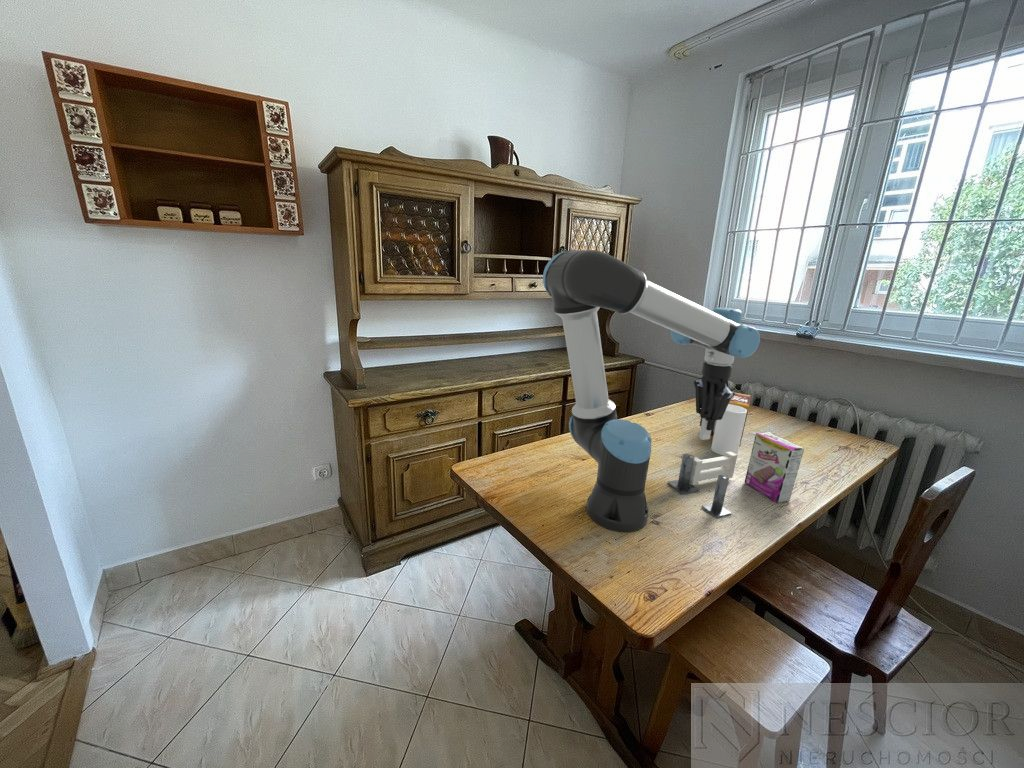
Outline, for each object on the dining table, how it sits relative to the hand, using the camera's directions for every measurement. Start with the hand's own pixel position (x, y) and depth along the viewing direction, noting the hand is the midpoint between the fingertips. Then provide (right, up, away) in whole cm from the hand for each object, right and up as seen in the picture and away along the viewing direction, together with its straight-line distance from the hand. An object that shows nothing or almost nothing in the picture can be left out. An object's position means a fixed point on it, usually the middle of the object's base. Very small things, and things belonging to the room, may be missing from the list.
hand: (704, 438), depth 121 cm
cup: (+16, -7, +18) cm, 25 cm away
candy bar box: (+15, -15, -6) cm, 22 cm away
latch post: (-5, -17, -17) cm, 24 cm away
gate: (0, -12, -3) cm, 12 cm away
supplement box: (+24, -4, +32) cm, 39 cm away
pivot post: (-9, -13, -6) cm, 17 cm away
